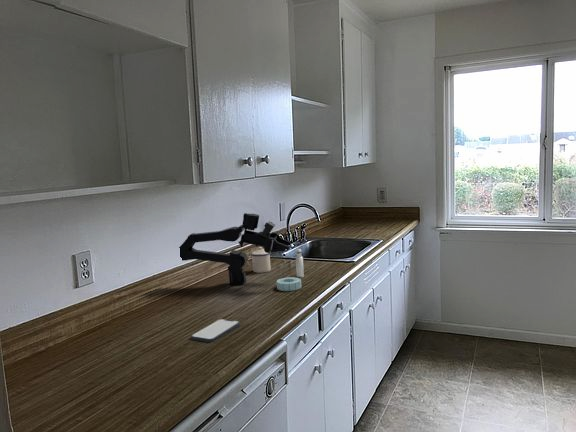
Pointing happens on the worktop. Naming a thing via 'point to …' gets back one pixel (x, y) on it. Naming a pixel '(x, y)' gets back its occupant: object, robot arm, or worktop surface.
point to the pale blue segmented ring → (288, 284)
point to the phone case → (215, 330)
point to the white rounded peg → (299, 264)
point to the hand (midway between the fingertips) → (290, 245)
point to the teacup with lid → (260, 261)
